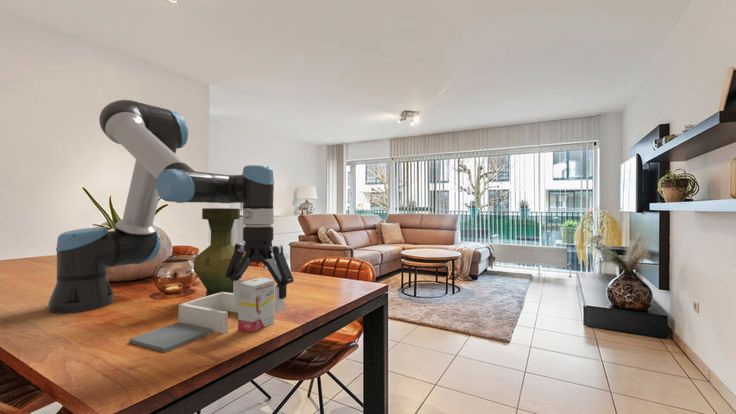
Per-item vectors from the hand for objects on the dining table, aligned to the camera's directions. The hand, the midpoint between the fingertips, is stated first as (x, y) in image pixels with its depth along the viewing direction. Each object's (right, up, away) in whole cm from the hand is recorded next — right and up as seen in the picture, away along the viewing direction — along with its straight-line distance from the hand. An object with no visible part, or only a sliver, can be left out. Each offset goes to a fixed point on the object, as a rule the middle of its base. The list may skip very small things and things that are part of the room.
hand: (258, 308), depth 86 cm
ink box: (0, -5, 0) cm, 5 cm away
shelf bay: (-11, -5, +5) cm, 13 cm away
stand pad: (-18, -5, -8) cm, 20 cm away
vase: (-20, -5, +24) cm, 32 cm away
